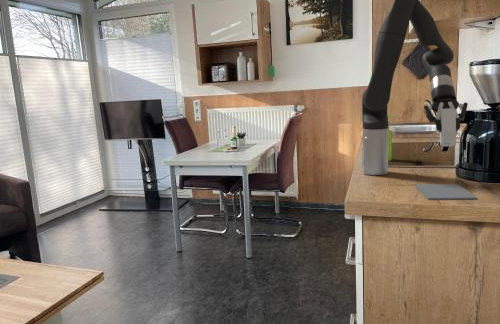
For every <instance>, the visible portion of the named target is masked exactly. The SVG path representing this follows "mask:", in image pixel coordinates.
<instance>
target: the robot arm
mask: <svg viewBox="0 0 500 324" xmlns="http://www.w3.org/2000/svg"><path fill="white" fill-rule="evenodd" d="M410 23H411V25H412V27H413V30H414V33H415V35H416V37H417V40H418V42H419V44H420V46H421V47H430V46H435V47H436V48H433V49H431V50H429V51H426V52H424V53H423V55H422V56H421V63H422V65H423V67H424V68H425V69H426V71H427V73H428V77H429V83H430V84H429V85H430V86H429V87H430V89H429V90H430V96H431V105H429V106H428V105H424V106H423V114H424V115H425V117H426V118H427V120H428V123H431V124H432V123H434V124H435V129H436V131H437V132H438V133H440V132H441V131H442V126H441V120H440V109H448V108H453V109H455V110H456V132H458V131H459V130H460V129H461V122H464V121H465V117H466V113H467V109H468V102H464V103H459V101H458V100H457V95H456V89H455V83H454V81H453V78H452V72H451V71H452V70H451V68H450V66H448V64H451V63H452V62H453V60H454V51H453V50H452V48H451V47H450V46H449V45H448V43H447V42H446V41H445V40H444V38H443V37H442V36H441V34H440V31H439V29H438V27H437V25H436V21H435V20H434V17H433V16H432V13H430V12H429V10H428V9H427V8H426V7H425V5H423V3H422V1H420V0H393V2H392V6H391V7H390V9H389V11H388V12H387V15H386V16H385V18H384V19H383V21H382V23H381V25H380V28H379V32H378V34H377V39H376V43H375V49H374V57H373V68H372V69H373V70H372V73H371V77H370V80H369V83H368V86H367V87H366V88H365V90H364V91H363V93H362V97H361V98H362V99H361V107H362V108H361V109H362V110H361V111H362V114H361V115H362V116H361V117H362V118H361V121H362V147H361V150H362V152H361V163H362V165H361V166H362V167H361V170H362V173H363V175H370V176H382V175H387V174H389V161H388V123H389V117H388V115H389V114H388V104H389V102H390V98H391V92H392V85H393V80H394V79H393V78H394V75H395V71H396V68H397V66H398V63H399V60H400V57H401V54H402V50H403V47H404V44H405V40H406V36H407V31H408V27H409V24H410ZM458 108H459V110H460V111H461V113H460V115H459V113H458V111H457V109H458ZM432 112H435V113H436V116H434V115H433V113H432Z"/></svg>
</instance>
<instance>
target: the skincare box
mask: <svg viewBox="0 0 500 324" xmlns="http://www.w3.org/2000/svg"><path fill="white" fill-rule="evenodd" d="M456 111H457V109H456V110H455V109H453V108H448V109H440V120H441V126H442V131H441V132H439V144H440V145H441V147H442V148H443V147H456V146H457V144H456V143H457V131H456Z"/></svg>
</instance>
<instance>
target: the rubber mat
mask: <svg viewBox="0 0 500 324" xmlns="http://www.w3.org/2000/svg"><path fill="white" fill-rule="evenodd" d="M414 187H415V188H416V189H417V190H418V191H419V192H420V193H421V194H422V195H423V197H425V199H427V200H432V201H435V200H438V201H439V200H442V201H443V200H444V201H445V200H451V201H452V200H454V201H455V200H477V199H478V198H477V196H475V195H473V194H472V193H471V192H470V191H468V190H466V189H465V188H463V187H462V186H461V185H460V184H458V183H430V184H425V183H424V184H423V183H422V184H414Z"/></svg>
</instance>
